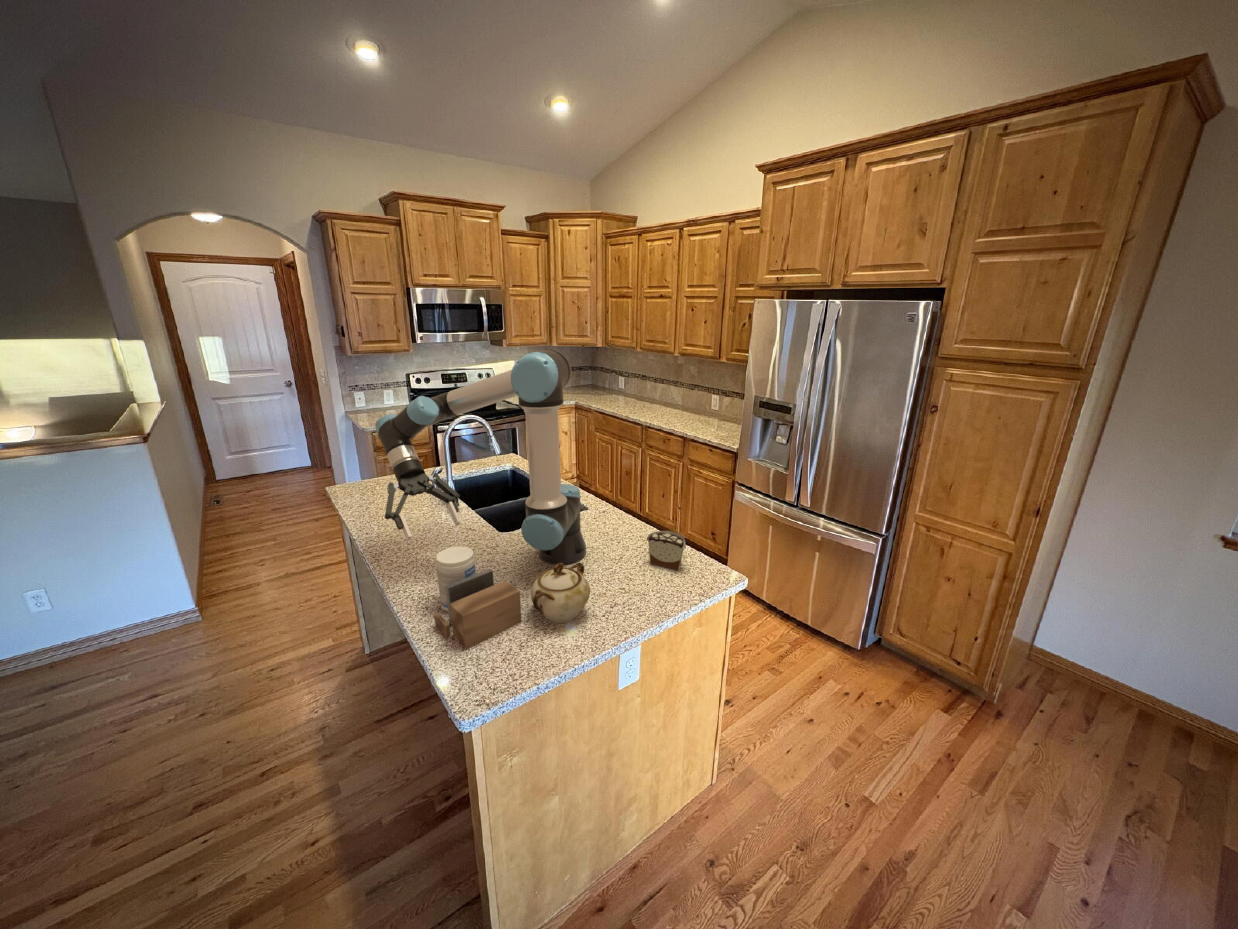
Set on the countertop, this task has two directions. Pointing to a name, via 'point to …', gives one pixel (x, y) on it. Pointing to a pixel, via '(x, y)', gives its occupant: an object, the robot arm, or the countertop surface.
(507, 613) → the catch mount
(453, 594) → the plate
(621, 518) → the countertop surface
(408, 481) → the robot arm
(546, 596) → the sugar bowl
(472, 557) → the supplement tub
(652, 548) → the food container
